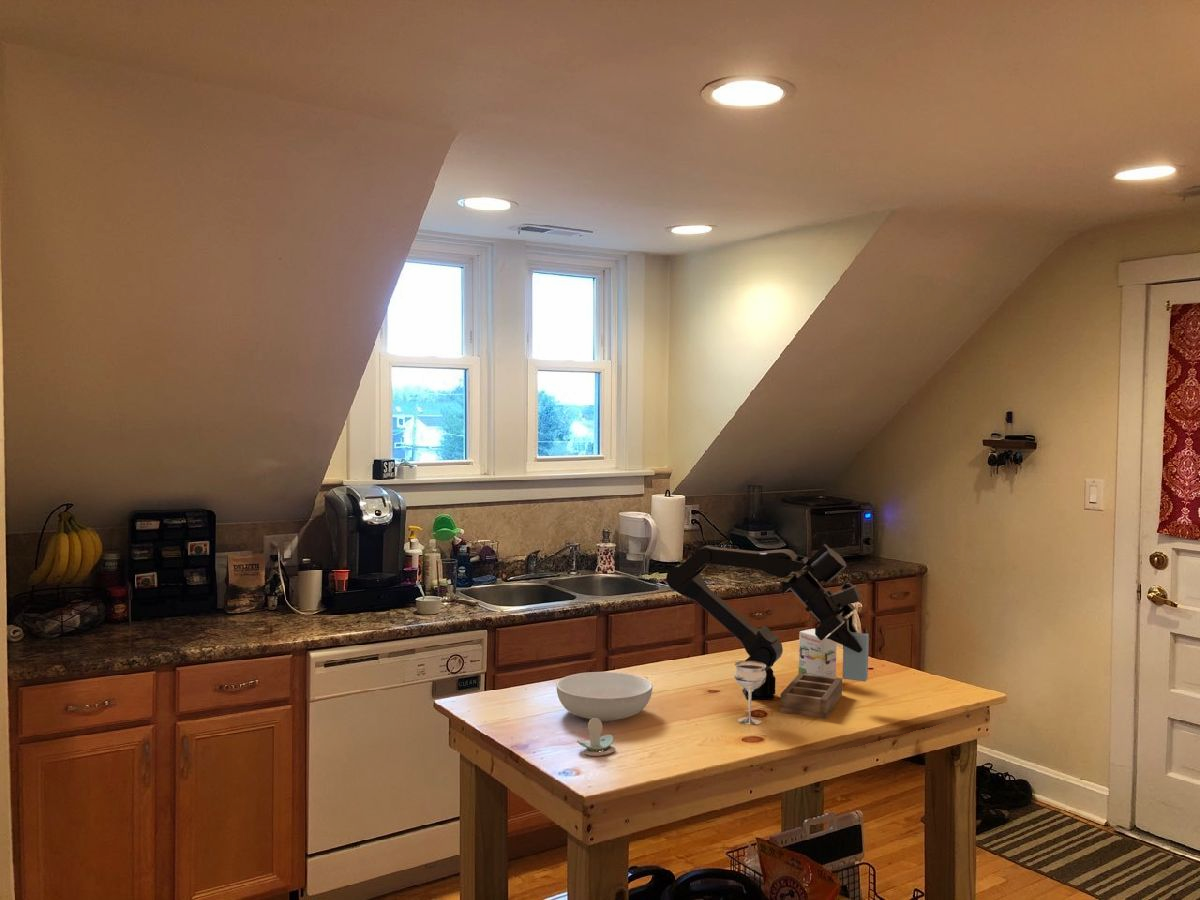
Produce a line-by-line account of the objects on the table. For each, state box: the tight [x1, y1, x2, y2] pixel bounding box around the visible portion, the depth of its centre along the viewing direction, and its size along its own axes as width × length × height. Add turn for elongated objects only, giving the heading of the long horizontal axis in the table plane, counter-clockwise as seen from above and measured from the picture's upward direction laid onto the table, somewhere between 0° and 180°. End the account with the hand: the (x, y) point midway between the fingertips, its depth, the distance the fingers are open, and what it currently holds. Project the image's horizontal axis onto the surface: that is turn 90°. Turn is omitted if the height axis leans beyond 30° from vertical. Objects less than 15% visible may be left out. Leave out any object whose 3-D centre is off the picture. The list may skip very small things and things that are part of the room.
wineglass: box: [733, 660, 766, 726], centre depth 198 cm, size 7×7×12 cm
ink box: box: [797, 628, 838, 678], centre depth 230 cm, size 8×5×12 cm, turn 32°
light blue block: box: [842, 631, 870, 683], centre depth 206 cm, size 5×3×10 cm, turn 65°
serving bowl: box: [555, 671, 654, 722], centre depth 200 cm, size 21×21×7 cm
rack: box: [779, 673, 843, 719], centre depth 210 cm, size 10×19×4 cm, turn 155°
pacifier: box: [576, 718, 616, 757], centre depth 178 cm, size 7×6×6 cm
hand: (862, 649), depth 206 cm, fingers closed on light blue block, 3 cm apart
